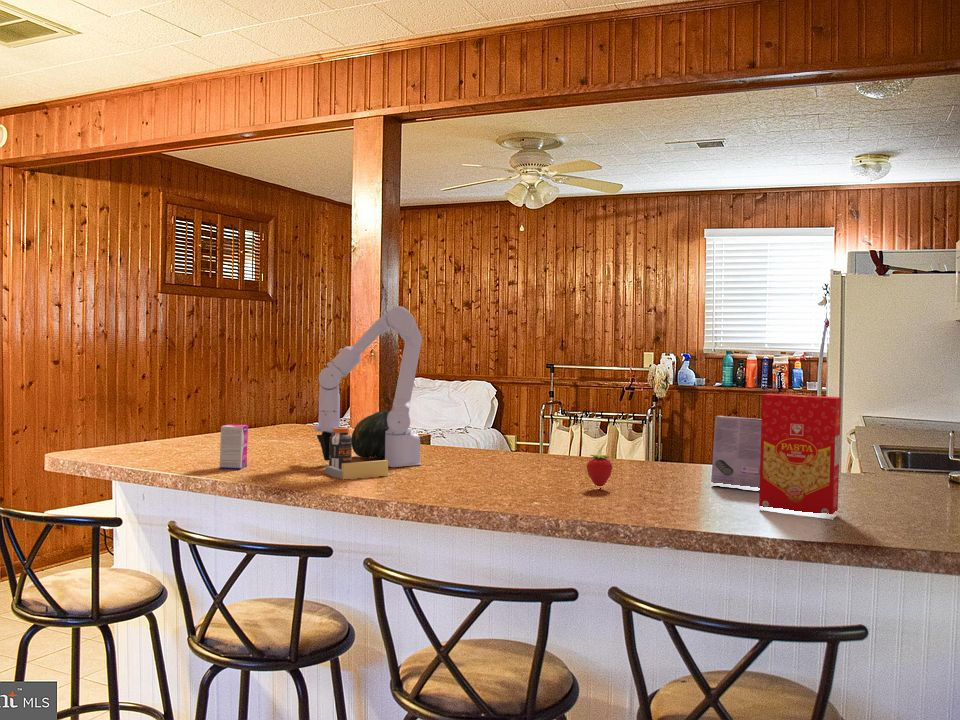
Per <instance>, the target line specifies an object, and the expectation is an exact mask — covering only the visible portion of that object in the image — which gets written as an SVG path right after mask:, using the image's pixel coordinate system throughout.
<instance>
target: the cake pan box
mask: <svg viewBox="0 0 960 720" xmlns="http://www.w3.org/2000/svg"><path fill="white" fill-rule="evenodd" d="M714 421H715V423H714V434H713V435H714V437H713V448H712V465H711V478H710V479H711V480H710V483H711V482H713V483H723V484H731V485H740V486H750V487H758V488H760V454H761V418H755V417H753V418H752V417H750V418H748V417H738V416H729V415H727V416H726V415H725V416H724V415H716V416H715V420H714Z"/></svg>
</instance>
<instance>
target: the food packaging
mask: <svg viewBox="0 0 960 720" xmlns="http://www.w3.org/2000/svg"><path fill="white" fill-rule="evenodd" d="M761 395H762V396H761V418H760V419H761V454H760V490H759V492H758V493H759V496H758V497H759V499H758V507H759V506H763V507H773V508H783V509H789V510H794V511H802V512H813V513H827V514H828V513H829V514H833V513H834V512H835V511H837V510H838V511H839V483H840V482H839V479H840V478H839V477H840V476H839V475H840V470H839V469H840V445H841V420H842V419H841V418H842V417H841V414H842V412H841V410H842V396H824V395H823V396H822V395H807V394H805V395H804V394H786V393H764V394H761Z"/></svg>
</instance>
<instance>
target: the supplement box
mask: <svg viewBox="0 0 960 720" xmlns="http://www.w3.org/2000/svg"><path fill="white" fill-rule="evenodd" d="M248 438H249V425H248V424H230V423H227V424H225V425H222V426H220V445H219V446H220V450H219V470H223V471H227V470H231V471H240V470H242V469H244V468H246V467H247V466H248V465H247V464H248V441H249V440H248Z"/></svg>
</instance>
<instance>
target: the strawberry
mask: <svg viewBox="0 0 960 720" xmlns="http://www.w3.org/2000/svg"><path fill="white" fill-rule="evenodd" d="M598 450H599V452H600V455H597V454H590V455H589V456H590V457H591V459H589V461H588V462H587V465H586V470H587V474H588V477H589V479H590V480H591V482H592V483H593V484H594V486H596V485H597V486H603V485H604V486H605V484H607V482H608V480H609V479H610V476H611V474H612V471H613V464H612V462H611V460H609V459H610V456H607V454H606V455H605V454H602V451H601V450H600V449H598ZM604 486H603V487H604Z"/></svg>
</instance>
